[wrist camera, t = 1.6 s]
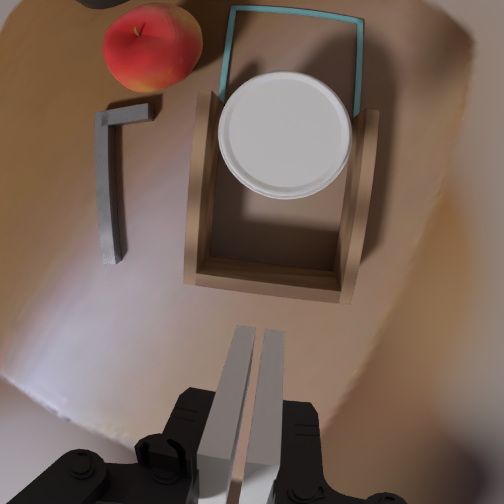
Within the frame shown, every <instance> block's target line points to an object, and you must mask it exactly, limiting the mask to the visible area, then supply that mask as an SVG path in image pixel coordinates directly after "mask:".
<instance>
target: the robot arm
mask: <svg viewBox="0 0 504 504" xmlns="http://www.w3.org/2000/svg"><path fill="white" fill-rule="evenodd" d="M76 1H78V2H79V3H81V4H82V5H84V6H85V7H88V8H91V9H105V8H110V7H114V6H117V5H119V4H122V3H124V2H126V1H128V0H76ZM255 331H256V328H253V327H246V326H239V325H237V326H236V329H235V333H234V336H233V339H232V342H231V346H230V349H229V352H228V355H227V358H226V362H225V365H224V368H223V371H222V375H221V378H220V381H219V384H218V387H217V391H216V392H214V391H208V390H203V389H197V388H192V387H189V388H188V389H187V390H186V391H184V392H183V393H182V394H181V395H179V398H178V400H177V402H176V404H175V406H174V409H173V411H172V413H171V415H170V418H169V419H168V422H167V424H166V426H165V428H164V430H163V433H162V434H160V433H158V434H153V435H148V436H146V437H144V438H142V439H140V440H139V441H138V443H137V444H136V445H135V446H134V448H135V452H136V456H137V460H138V463H134V464H117V463H105V462H104V460H103V459H102V458H101V457H100V456H99V455H98V454H96V453H94V452H92V451H90V450H84V449H76V450H71V451H69V452H67V453H65V454H64V455H63V456H61V457H60V458H59V459H58V460H57V461H55V462H54V463H53V464H52V465H51V466H50V467H48V468H47V469H46V470H45V471H44V472H43V473H42V474H40V475H39V476H38V477H37V478H36V479H35V480H33V481H32V482H31V483H30V484H29V485H28V486H27V487H25V488H24V489H23V490H22V491H21V492H19V493H18V494H17V495H16V496H15V497H14V498H12V499H11V500H10V501H9V502H8V503H6V504H197V503H198V504H226V501H227V496H228V491H229V486H230V481H231V476H232V471H233V466H234V461H235V455H236V450H237V445H238V440H239V434H240V429H241V423H242V418H243V413H244V407H245V402H246V396H247V391H248V385H249V379H250V371H251V363H252V355H253V347H254V339H255ZM283 372H284V331H277V330H269V329H265V333H264V340H263V348H262V355H261V362H260V369H259V376H258V382H257V389H256V396H255V403H254V410H253V417H252V424H251V430H250V437H249V443H248V450H247V456H246V463H245V469H244V475H243V482H242V488H241V494H240V500H239V504H407V503H406V502H405V500H404V499H403V498H401V497H399V496H398V495H396V494H392V493H387V492H384V493H377V494H374V495H372V496H370V497H368V498H367V499H366V500H364V499H359V498H354V497H350V496H346V495H343V494H340V493H338V492H337V491H335V490H333V489H332V488H331V487H330V486H329V485H328V484H327V482H326V480H325V479H324V475H323V466H322V453H321V442H320V430H319V420H318V413H317V411H316V410H315V408H314V407H313V405H312V404H311V403H310V402H297V401H287V400H283Z"/></svg>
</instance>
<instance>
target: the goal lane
mask: <svg viewBox="0 0 504 504" xmlns="http://www.w3.org/2000/svg"><path fill="white" fill-rule="evenodd" d="M236 11H257V12H275V13H287V14H297V15H306V16H314V17H321V18H327V19H333V20H339V21H345V22H350V23H355V24H357V54H356V76H355V93H354V108H353V118H354V117H355V116H356V115H358V114H359V112H360V97H361V80H362V56H363V19H358V18H353V17H348V16H343V15H337V14H331V13H325V12H318V11H311V10H303V9H293V8H282V7H268V6H239V5H231V10H230V17H229V23H228V30H227V36H226V43H225V50H224V58H223V65H222V72H221V80H220V88H219V96H218V98H219V99H220V100H221V101H222V102H223V103H224V100H225V91H226V83H227V75H228V67H229V60H230V52H231V45H232V38H233V31H234V24H235V17H236Z"/></svg>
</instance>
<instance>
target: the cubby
mask: <svg viewBox="0 0 504 504" xmlns="http://www.w3.org/2000/svg"><path fill="white" fill-rule="evenodd" d="M223 108H224V103H223V102H222V101H221V100H220V99H219V98H218V97H217V96H216V94H215V93H214V92H213V91H212V90H198V98H197V106H196V115H195V124H194V133H193V143H192V153H191V164H190V175H189V188H188V201H187V216H186V233H185V253H184V280H183V284H190V285H196V286H203V287H210V288H217V289H224V290H231V291H239V292H246V293H254V294H262V295H269V296H277V297H286V298H294V299H303V300H311V301H320V302H330V303H339V304H349V305H351V302H352V297H353V293H354V288H355V284H356V279H357V274H358V269H359V264H360V259H361V253H362V248H363V242H364V236H365V231H366V224H367V218H368V212H369V205H370V198H371V191H372V183H373V175H374V167H375V158H376V148H377V137H378V125H379V112H380V111H379V110H374V109H370V108H366V109H365V110H363V111H362V112H361V113H359V114H358V115H356V116H355V117H354V118H353V120H352V145H351V150H350V154H349V161H348V170H347V178H346V186H345V194H344V201H343V208H342V215H341V222H340V229H339V235H338V241H337V248H336V253H335V259H334V265H333V271H332V272H331V271H323V270H314V269H306V268H298V267H290V266H282V265H274V264H266V263H258V262H250V261H242V260H234V259H226V258H218V257H210V251H211V237H212V223H213V211H214V199H215V187H216V176H217V166H218V155H219V139H218V129H219V122H220V117H221V114H222V111H223Z"/></svg>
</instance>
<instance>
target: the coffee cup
mask: <svg viewBox="0 0 504 504" xmlns="http://www.w3.org/2000/svg"><path fill="white" fill-rule="evenodd" d="M218 139H219V146H220V150H221V153H222V156H223V159H224V161H225V163H226V165H227V166H228V168H229V169H230V171H231V172H232V173H233V175H234V176H235V177H236V178H237V179H238V180H239V181H240V182H241V183H243V184H244V185H245V186H246V187H248V188H249V189H251V190H253V191H255V192H257V193H259V194H261V195H264V196H267V197H271V198H276V199H297V198H302V197H306V196H309V195H312V194H314V193H316V192H318V191H320V190H322V189H323V188H325V187H326V186H328V185H329V184H330V183H331V182H332V181H333V180H334V179H335V178H336V177H337V176H338V175H339V173H340V172H341V171H342V169H343V167H344V166H345V164H346V162H347V160H348V157H349V154H350V150H351V145H352V127H351V122H350V118H349V115H348V112H347V110H346V108H345V106H344V104H343V103H342V101H341V100H340V98H339V97H338V96H337V95H336V93H335V92H334V91H333V90H332V89H331V88H330V87H328V86H327V85H326V84H325V83H323V82H321V81H320V80H318V79H316V78H314V77H312V76H310V75H307V74H305V73H301V72H296V71H287V70H281V71H272V72H267V73H263V74H261V75H258V76H256V77H254V78H252V79H250V80H248V81H247V82H245V83H244V84H243V85H241V86H240V87H239V88H238V89H237V90H236V91H235V92H234V93H233V94H232V96H231V97H230V98H229V100H228V101H227V103H226V105H225V107H224V109H223V111H222V114H221V117H220V122H219V129H218Z"/></svg>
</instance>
